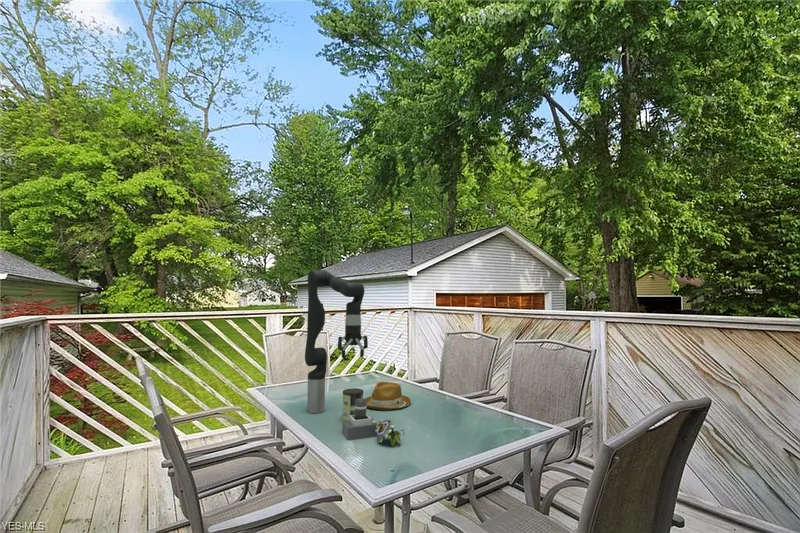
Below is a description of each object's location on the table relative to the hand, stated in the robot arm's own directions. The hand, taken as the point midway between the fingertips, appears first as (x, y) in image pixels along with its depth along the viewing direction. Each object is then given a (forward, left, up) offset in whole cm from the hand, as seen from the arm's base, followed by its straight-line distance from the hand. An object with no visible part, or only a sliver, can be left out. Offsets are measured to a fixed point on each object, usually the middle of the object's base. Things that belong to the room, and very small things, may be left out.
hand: (352, 358), depth 190 cm
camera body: (+11, +1, -32) cm, 34 cm away
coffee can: (-10, +3, -32) cm, 34 cm away
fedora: (-29, +28, -33) cm, 52 cm away
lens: (+11, +1, -27) cm, 29 cm away
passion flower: (+24, +10, -32) cm, 42 cm away
